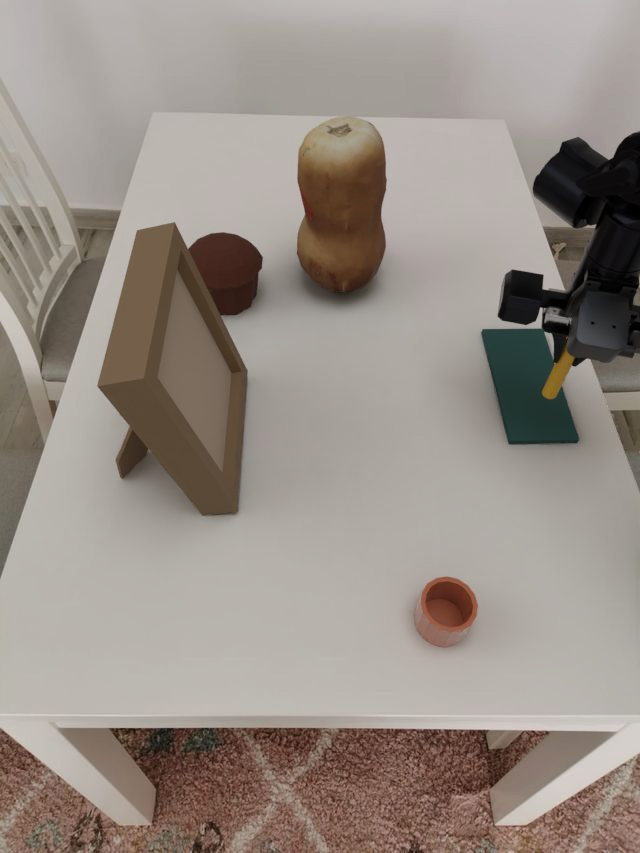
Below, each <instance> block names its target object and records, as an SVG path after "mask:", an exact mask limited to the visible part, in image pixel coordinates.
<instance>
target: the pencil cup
mask: <svg viewBox="0 0 640 853" xmlns="http://www.w3.org/2000/svg"><path fill="white" fill-rule="evenodd" d="M478 610H479V603H478V601H477V596H476V594H475V593H474V591H473V590H472V589H471V588H470V586H469V585H468V584H467V583H465V582H464V581H462V580H461V579H458V578H456V577H451V576H440V577H436V578H434V579H432V580H430V581H429V582H428V583H427V584H426V585H425V587H424V588H423V590H422V592H421V594H420V596H419V599H418V602H417V604H416V607H415V610H414V616H413V617H414V618H413V620H414V624H415V628H416V630H417V633H419V635H420V636H421V638H422V639H424V640H425V641H426V642H427V643H429V644H431V645H432V646H436V647H439V648H448V647H453V646H455V645H457V644H458V643H460V642H461V641H463V639H464V637H465V636H466V634H467V632H469V630H470V628H471V626H472V625H473V623H474V621H475V620H476V619H477V616H478Z"/></svg>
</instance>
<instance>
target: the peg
mask: <svg viewBox="0 0 640 853" xmlns="http://www.w3.org/2000/svg"><path fill="white" fill-rule="evenodd" d="M567 341H568V337H567V339H566V342H565V345H564V348H563V352H562V355H561V357H560V359H559V361H558V363H555V365H554V367H553V369H552V371H551V373H550V375H549V377H548V380H547V382H546V384H545V386H544V388H543V390H542V395H543V396H544V397H545V398H547V399H554V398H556V396H557V394H558V392H559V390H560V388H561V386H562V387H563V384H564V382H565V380H566V378H567V376H568V374H569V373H570V370H571V368H572V367H573V366H572V364H573V362H574V360H575V358H576V357H573V356H571V355H570V354H569V353H568V352H567V349H566V345H567Z"/></svg>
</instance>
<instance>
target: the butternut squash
mask: <svg viewBox="0 0 640 853" xmlns="http://www.w3.org/2000/svg"><path fill="white" fill-rule="evenodd" d="M297 154H298V155H297V177H296V180H297V184H298V189H299V193H300V197H301V202H302V205H303V206H302V207H303V210H304V216H303V218H302V220H301V222H300V225H299V228H298V231H297V237H296V239H297V240H296V256H297V258H298V261H299V264H300V266H301V268H302V269H303V271H304V272H305V274H306V275H307V276H308V277H309V278H310V279H311V281H312V282H315V284H317V285H318V286H319V287H320V288H321V289H324V290H326V291H329V292H331V293H335V294H336V293H344V294H347V295H349V294H351V293H354V292H356V291H359V290H361V289H363V288H365V287H366V286H367V285H368V284H369V283H371V281H372V280H373V279H374V277H375V276H376V275H377V273H378V272H379V269H380V267H381V265H382V261H383V260H384V257H385V253H386V248H387V239H386V231H385V229H384V223H383V218H382V210H383V209H382V208H383V204H384V203H383V202H384V200H385V196H386V192H387V181H388V179H387V167H386V166H387V161H386V160H387V159H386V151H385V143H384V141H383V137H382V135H381V133H380V131H379V130H378V129H377V128H376V126H375V125H374V124H373V123H371V122H370V121H367V120H365V119H363V118H360V117H355V116H347V115H346V116H339V117H333V118H330V119H327V120H325V121H323V122H322V123H320V124H319V125H317V126H315V127H314V128H312V129H311V130H310V131H308V133H307V134H305V136H304V138H303V141H302V143H301V144H300V146H299V148H298V152H297Z"/></svg>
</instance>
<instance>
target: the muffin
mask: <svg viewBox="0 0 640 853" xmlns="http://www.w3.org/2000/svg"><path fill="white" fill-rule="evenodd" d="M187 248H188V250H189V252H190V254H191V256H192V258H193V260H194V262H195V264H196V266H197V268H198V270H199V273H200V275H201V277H202V279H203V281H204V283H205V285H206V287H207V289H208V291H209V293H210V295H211V297H212V299H213V301H214V303H215V305H216V307H217V309H218V311H219V313H220V315H221V317H222V316H237V315H239V314H240V313H242V312H244V311H246V310H247V309H249V308H252V305H253V302H254V300H255V298H256V297H257V294H258V293H257V292H258V284H259V274H260V272H261V271H262V269H263V262H264V256H263V255H262V254H261V252H260V250H259V249H258V247H257V246H255V245H254V244H253V243H252V242H251V241H249V240H248V239H246V238H244V237H242V236H241V235H238V234H237V233H230V232H223V231H221V232H212V233H209V234H206V235H203V236H201V237H199V238H197V239H196V240H195V241H194V242H193V243H192V244H191V245H190V246H189V247H187Z"/></svg>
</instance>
